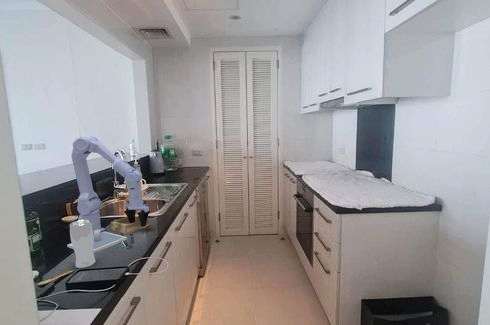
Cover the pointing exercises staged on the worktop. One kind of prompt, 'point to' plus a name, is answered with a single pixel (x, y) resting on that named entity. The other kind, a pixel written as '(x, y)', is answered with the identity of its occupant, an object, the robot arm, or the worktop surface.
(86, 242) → the beer glass
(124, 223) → the wood collar
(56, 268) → the worktop surface
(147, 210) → the robot arm
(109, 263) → the worktop surface
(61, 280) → the worktop surface
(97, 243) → the post stand
